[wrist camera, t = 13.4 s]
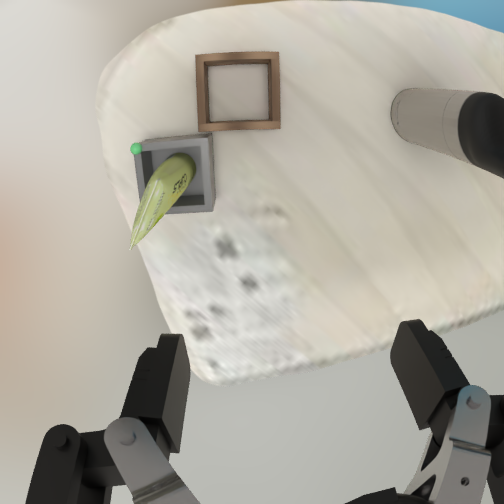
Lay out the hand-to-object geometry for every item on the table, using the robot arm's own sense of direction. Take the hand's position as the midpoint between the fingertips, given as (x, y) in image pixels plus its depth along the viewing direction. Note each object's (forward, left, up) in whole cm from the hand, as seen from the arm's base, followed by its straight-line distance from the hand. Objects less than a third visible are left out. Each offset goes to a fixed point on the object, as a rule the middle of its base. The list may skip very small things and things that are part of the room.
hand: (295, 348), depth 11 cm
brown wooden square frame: (+2, -10, -38) cm, 39 cm away
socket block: (+11, +1, -38) cm, 39 cm away
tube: (+11, +1, -37) cm, 38 cm away
